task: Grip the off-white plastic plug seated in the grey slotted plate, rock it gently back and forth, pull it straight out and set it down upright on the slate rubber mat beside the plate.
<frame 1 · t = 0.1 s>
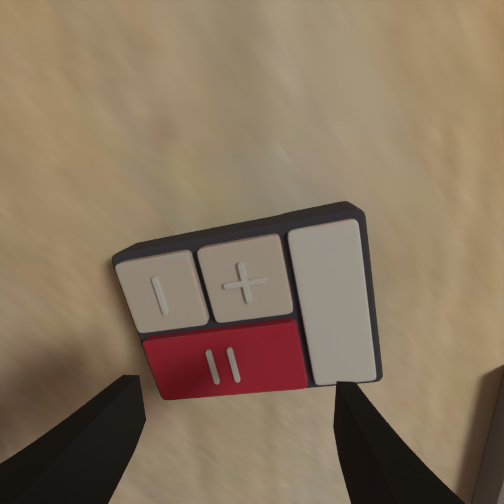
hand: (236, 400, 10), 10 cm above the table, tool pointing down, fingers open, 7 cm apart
black and red box: (252, 294, 21), on the table
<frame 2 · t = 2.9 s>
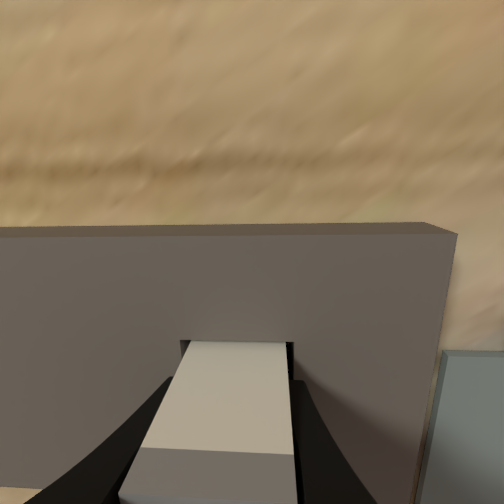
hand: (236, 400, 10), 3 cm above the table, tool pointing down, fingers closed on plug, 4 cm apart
plug: (243, 355, 13), resting in grey slotted plate, touching gripper
grey slotted plate: (178, 354, 13), on the table
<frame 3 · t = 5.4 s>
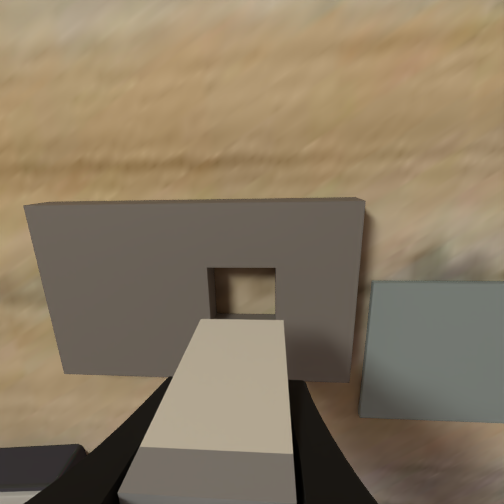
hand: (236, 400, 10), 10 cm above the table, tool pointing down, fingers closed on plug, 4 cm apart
plug: (243, 355, 13), point 7 cm above the table, touching gripper
black and red box: (57, 500, 28), on the table
grey slotted plate: (202, 286, 20), on the table
mat: (444, 353, 20), on the table
when the fingers open (5 cm above the table, at t = 7.9 s): plug drops 1 cm, resting on mat.
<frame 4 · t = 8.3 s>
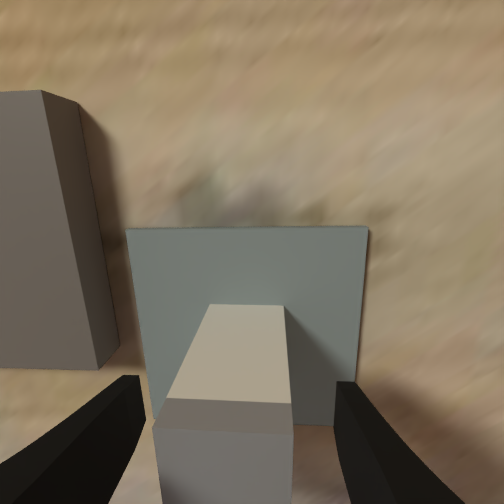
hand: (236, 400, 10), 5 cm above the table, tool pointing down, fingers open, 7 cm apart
plug: (247, 337, 14), resting on mat
mat: (247, 331, 15), on the table
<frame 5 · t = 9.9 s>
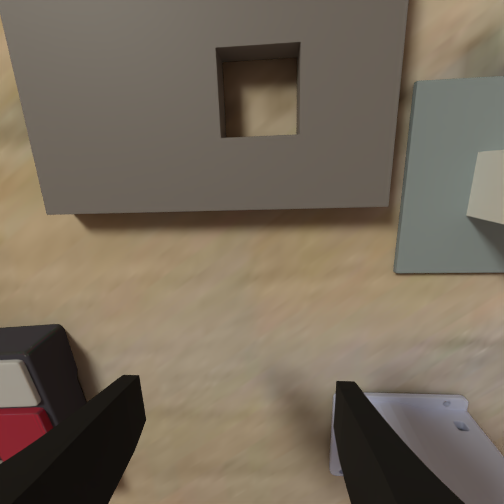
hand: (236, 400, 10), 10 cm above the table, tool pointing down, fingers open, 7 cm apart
black and red box: (33, 401, 25), on the table
grey slotted plate: (209, 103, 17), on the table
mat: (499, 182, 17), on the table
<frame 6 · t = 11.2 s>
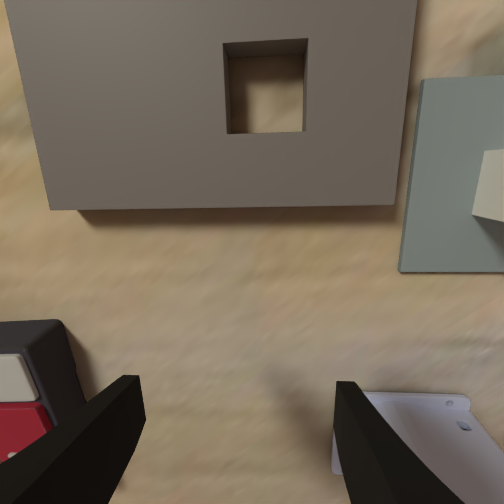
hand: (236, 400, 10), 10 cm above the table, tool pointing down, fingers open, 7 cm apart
black and red box: (30, 396, 25), on the table
grey slotted plate: (214, 100, 17), on the table
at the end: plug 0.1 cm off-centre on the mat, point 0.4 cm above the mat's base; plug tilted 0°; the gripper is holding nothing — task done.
